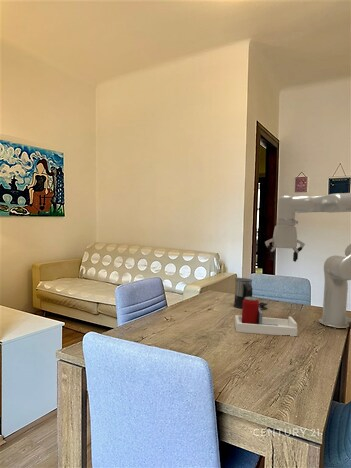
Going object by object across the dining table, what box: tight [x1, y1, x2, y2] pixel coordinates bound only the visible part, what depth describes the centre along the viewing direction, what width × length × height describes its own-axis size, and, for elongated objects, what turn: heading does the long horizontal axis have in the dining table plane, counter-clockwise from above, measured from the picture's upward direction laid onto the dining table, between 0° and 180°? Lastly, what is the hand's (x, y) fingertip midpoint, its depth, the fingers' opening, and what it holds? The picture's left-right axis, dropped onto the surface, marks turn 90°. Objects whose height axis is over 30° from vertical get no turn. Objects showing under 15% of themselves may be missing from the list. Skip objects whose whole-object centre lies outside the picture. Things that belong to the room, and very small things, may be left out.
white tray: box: [234, 314, 298, 337], centre depth 137 cm, size 24×12×5 cm, turn 83°
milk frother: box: [233, 277, 268, 309], centre depth 172 cm, size 14×16×15 cm
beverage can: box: [241, 296, 260, 324], centre depth 138 cm, size 7×7×12 cm
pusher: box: [258, 307, 278, 326], centre depth 137 cm, size 8×9×7 cm
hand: (283, 260), depth 147 cm, fingers open, 9 cm apart
